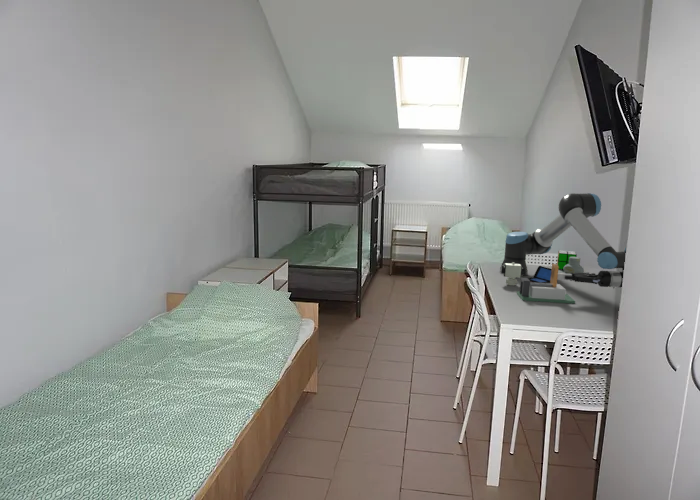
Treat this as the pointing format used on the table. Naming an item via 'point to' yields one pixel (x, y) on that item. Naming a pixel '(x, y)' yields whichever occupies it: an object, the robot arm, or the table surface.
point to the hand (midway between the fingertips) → (557, 276)
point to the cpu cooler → (543, 293)
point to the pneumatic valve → (512, 272)
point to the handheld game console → (541, 275)
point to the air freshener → (573, 266)
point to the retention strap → (553, 278)
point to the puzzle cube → (564, 258)
